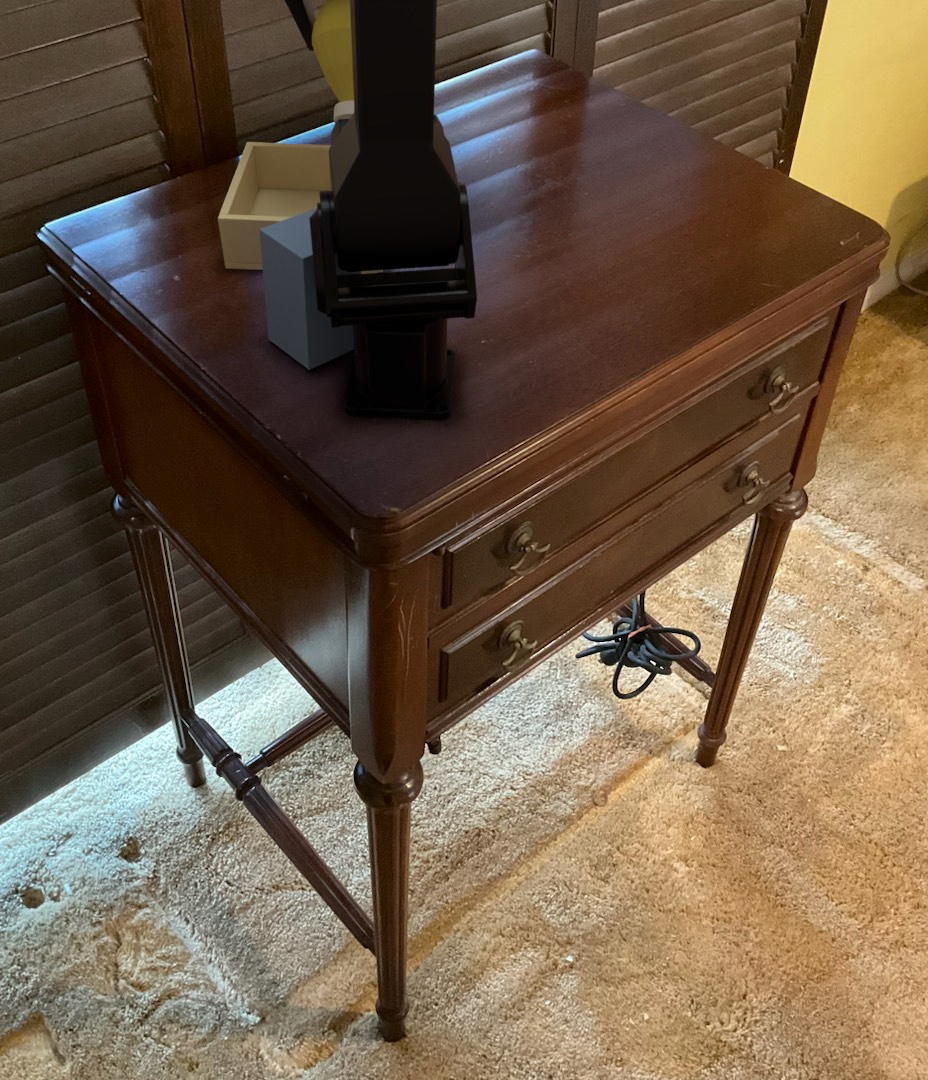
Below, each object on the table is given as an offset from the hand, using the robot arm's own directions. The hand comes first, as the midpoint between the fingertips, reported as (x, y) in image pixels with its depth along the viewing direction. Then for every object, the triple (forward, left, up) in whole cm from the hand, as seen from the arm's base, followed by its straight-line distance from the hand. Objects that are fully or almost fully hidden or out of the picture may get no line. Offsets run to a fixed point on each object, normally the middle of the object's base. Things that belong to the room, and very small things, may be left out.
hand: (363, 50), depth 77 cm
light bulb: (-6, 0, -4) cm, 7 cm away
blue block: (-18, +2, -12) cm, 22 cm away
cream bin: (-4, +4, -12) cm, 13 cm away
